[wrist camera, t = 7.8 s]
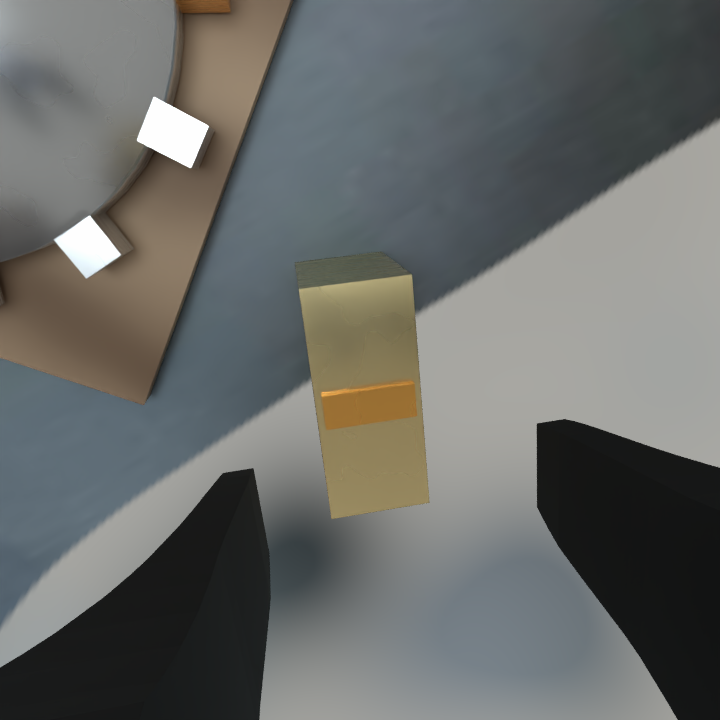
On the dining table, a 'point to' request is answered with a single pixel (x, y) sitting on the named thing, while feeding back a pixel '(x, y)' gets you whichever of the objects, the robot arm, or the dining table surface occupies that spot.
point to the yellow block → (365, 381)
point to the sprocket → (87, 117)
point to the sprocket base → (146, 226)
